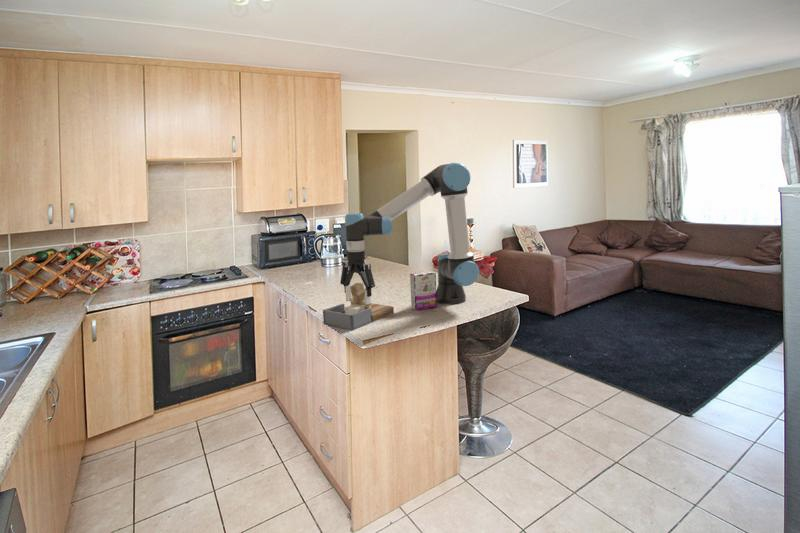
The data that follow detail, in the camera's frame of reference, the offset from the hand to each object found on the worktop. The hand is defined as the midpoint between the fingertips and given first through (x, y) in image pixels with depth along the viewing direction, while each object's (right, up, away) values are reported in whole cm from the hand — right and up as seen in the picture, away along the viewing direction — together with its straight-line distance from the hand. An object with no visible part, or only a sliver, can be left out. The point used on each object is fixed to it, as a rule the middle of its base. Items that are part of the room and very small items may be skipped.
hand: (358, 302), depth 185 cm
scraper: (+1, -3, +2) cm, 4 cm away
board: (+4, -6, +7) cm, 10 cm away
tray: (-4, -8, -5) cm, 10 cm away
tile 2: (-1, -5, -1) cm, 5 cm away
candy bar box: (+29, -4, +15) cm, 33 cm away
